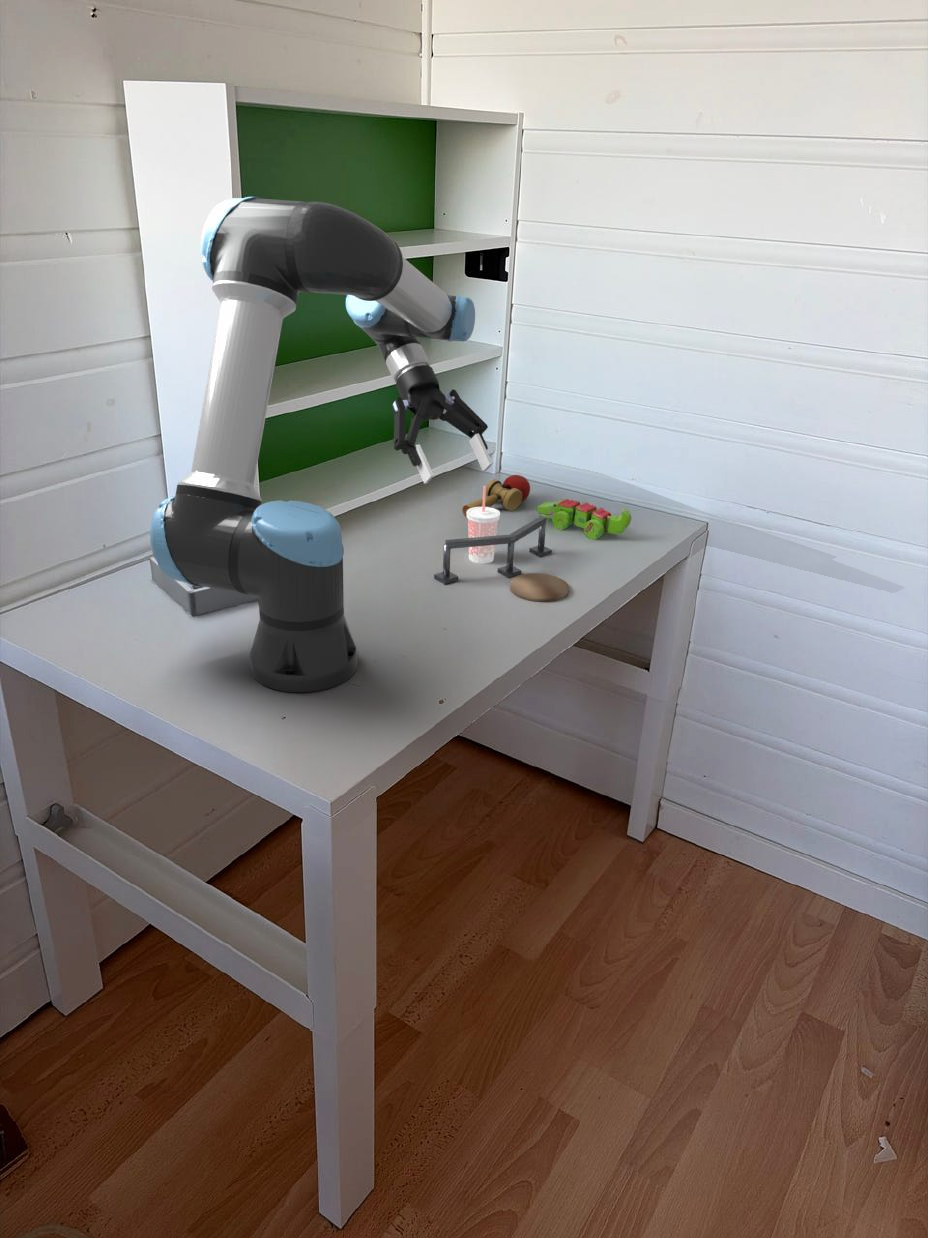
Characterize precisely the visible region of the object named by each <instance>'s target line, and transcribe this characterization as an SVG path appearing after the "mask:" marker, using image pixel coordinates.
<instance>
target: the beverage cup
mask: <svg viewBox="0 0 928 1238" xmlns="http://www.w3.org/2000/svg"><path fill="white" fill-rule="evenodd" d="M486 486H487V485H485V484H484V485H483V488H482V489H483V490H482V498H483V505H482V507H473V508H470V509H468V510H467V513H466V514H467V518H466V519H467V534H468V537H467V538H474V537H485V536H497V533H498V525H499V520H500V517H501V511H500V510H499V509H496V508H494V507H491V506H490V507H485V497H486ZM495 549H496V545H487V546H476V547H468V560H469V561H470V562H471V563H475V564H490V563H492V562H493V561H494V557H495V551H496V550H495Z"/></svg>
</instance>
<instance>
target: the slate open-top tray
mask: <svg viewBox="0 0 928 1238" xmlns="http://www.w3.org/2000/svg"><path fill="white" fill-rule="evenodd" d="M149 564H150V572H151V580H152V581H153V582H154V583H155V584H157V586H159V587H160V588H161V589H162V590H163V591H164V592H165V593H166V594H167V595H168V596H169V597H170V598H171V599H173V600H174V601H175V602H176V603H177V604H178V605H179V606H180V607H182V608H183V609H184V610H185V611H186V612H187V613H188V614H189V615H190V616H191V617H194V616H198V615H202V614H205V613H209V612H214V611H217V610H221V609H225V608H229V607H233V606H237V605H240V604H244V603H248V602H252V601H257V600H258V597H256V596H252V595H247V594H241V593H236V592H230V591H225V590H219V589H214V588H209V587H203V586H202V587H200V588H195V589H192V588H191V587H189V586H188V585H187V583H185V582H181V581H177V580H174V579H172V578H170V577H168V576H167V575H166V574H164V573H163V571H162V570H161V569H160V568H159V566H158V563H157V561H156V560H155V558H154V556H152V557H149Z"/></svg>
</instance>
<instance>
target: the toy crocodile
mask: <svg viewBox="0 0 928 1238" xmlns="http://www.w3.org/2000/svg"><path fill="white" fill-rule="evenodd" d="M536 512H537V513H538V514H539V517H540V516H544V517H547V519H549V520H550V519H551V522H552V525H553V526H554V528H555V529H557V530H559V531H560V530H561V531H563V530H565V529H567V528H569V527H570V526H571V524H573V526H575V527H579V528H581V529H583V532H584V535H585V537H587V538H588V539H591V540H598V539H599V538H601V537H602V536H603V535H604V533H607V534H611V535H612V534H613V535H616V534H617V535H618V534H622V533H623V532H625V530H626V529H627V527H629V526H630V524H631V521H632V514H631V512H630V510H628V509H627V508H625V507H624V508H622V510H621V515H620V516H618V515H616V514H615V515H614V514H613V515H612V513H611V512H609V511H608V510H606V509H604V508H603V507H600V508H597V506H596V505H594V504H590V503H588V502H585V503H582V504H581V502H580V501H578V500H573V499H569V498H565V499H563V498H562V499H560V500H557V501H555V502H554V501H553V502H550V501H545V502H543V503H541V504H540V505H537V506H536Z"/></svg>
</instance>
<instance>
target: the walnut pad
mask: <svg viewBox="0 0 928 1238" xmlns="http://www.w3.org/2000/svg"><path fill="white" fill-rule="evenodd" d="M569 586H570V585H569V583H568V582H567V581H566V580H564V579H563V578H562V577H558V576H556V575H553V574H547V573H540V572H539V573H538V572H536V573H535V572H531V573H524V574H521V575H517V576H514V577H512V579H511V581H510V586H509V590H510V591H511V593H512V594H513V595H514V596H516V597H518V598H520V599H522V600H525V601H526V600H527V601H530V602H537V603H550V602H557V601H560V600H562V599H565V597H567V596H568V594H569V590H570V587H569Z"/></svg>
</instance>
